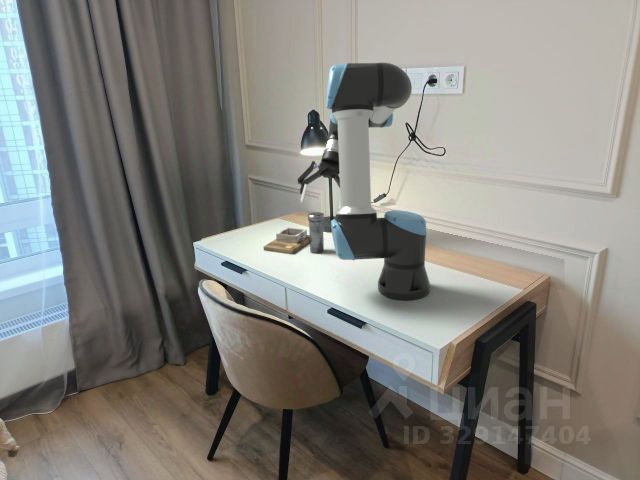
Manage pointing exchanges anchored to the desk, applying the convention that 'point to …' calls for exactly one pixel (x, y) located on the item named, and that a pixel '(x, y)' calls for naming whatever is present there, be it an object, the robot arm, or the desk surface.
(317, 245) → the grey capped canister
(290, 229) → the base
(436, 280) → the desk surface
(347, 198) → the robot arm
